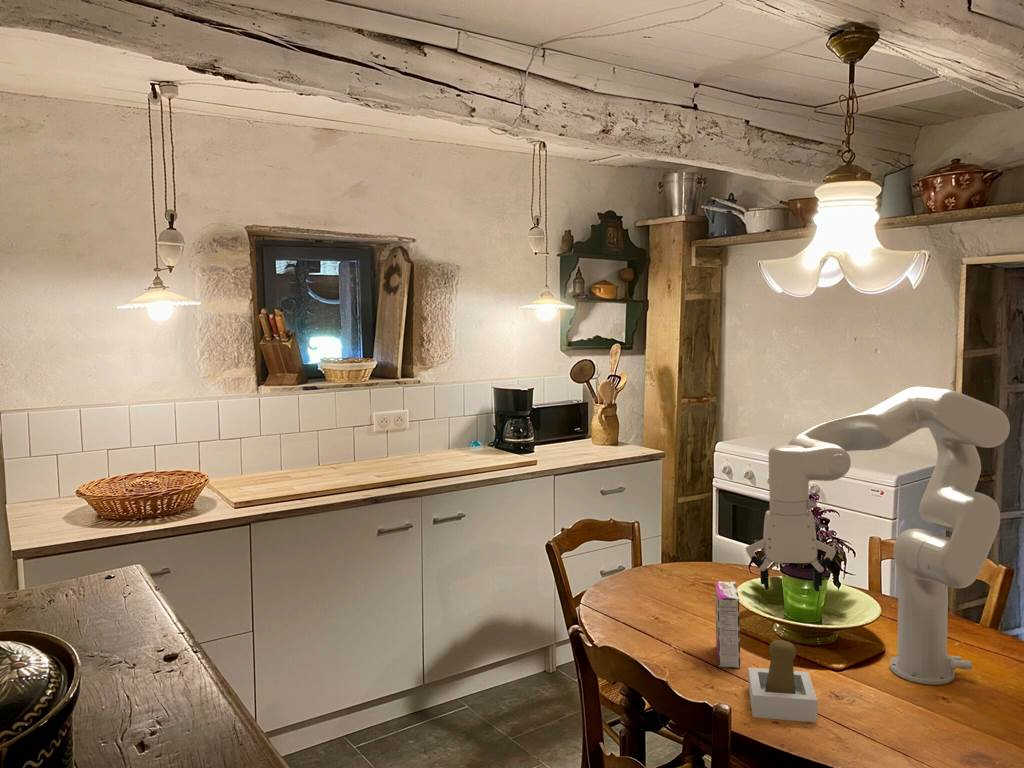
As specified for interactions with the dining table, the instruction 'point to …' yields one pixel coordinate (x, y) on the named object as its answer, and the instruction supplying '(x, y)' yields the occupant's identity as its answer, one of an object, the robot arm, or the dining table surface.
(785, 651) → the cork
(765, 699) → the open box
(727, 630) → the candy bar box
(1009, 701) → the dining table surface
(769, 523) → the robot arm
